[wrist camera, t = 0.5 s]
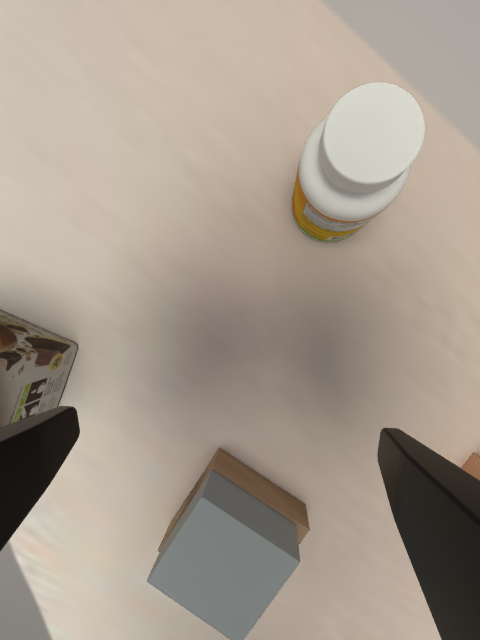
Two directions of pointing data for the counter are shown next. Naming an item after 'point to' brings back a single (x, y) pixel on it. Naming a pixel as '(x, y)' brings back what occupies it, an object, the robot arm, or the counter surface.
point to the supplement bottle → (356, 161)
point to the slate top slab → (226, 557)
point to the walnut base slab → (250, 492)
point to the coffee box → (31, 368)
